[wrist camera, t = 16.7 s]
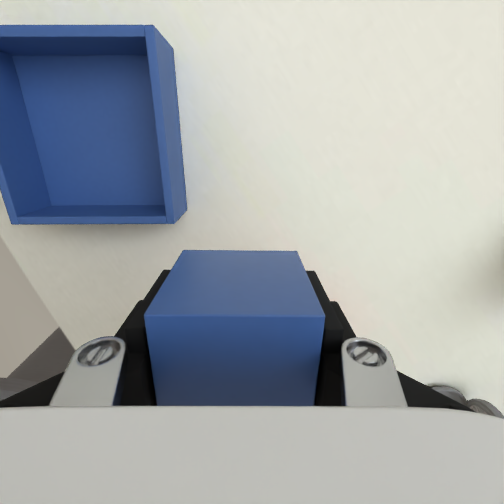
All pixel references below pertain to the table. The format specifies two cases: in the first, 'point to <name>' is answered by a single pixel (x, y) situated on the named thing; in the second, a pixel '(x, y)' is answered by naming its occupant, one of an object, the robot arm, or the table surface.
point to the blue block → (235, 331)
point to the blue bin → (89, 125)
